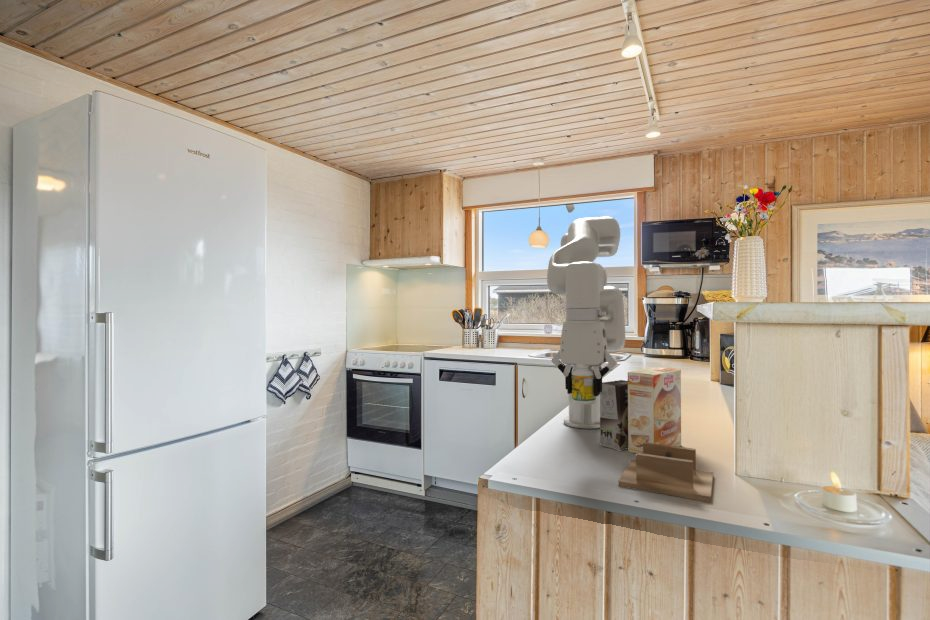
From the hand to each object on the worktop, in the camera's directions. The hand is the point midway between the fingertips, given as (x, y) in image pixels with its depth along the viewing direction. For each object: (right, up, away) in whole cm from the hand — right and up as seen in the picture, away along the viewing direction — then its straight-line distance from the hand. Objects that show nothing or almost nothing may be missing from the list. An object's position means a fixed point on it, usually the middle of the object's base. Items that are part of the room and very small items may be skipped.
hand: (583, 393), depth 106 cm
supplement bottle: (0, -2, 0) cm, 2 cm away
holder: (+13, -15, -14) cm, 24 cm away
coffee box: (+12, -15, +11) cm, 22 cm away
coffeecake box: (+20, -15, +8) cm, 26 cm away
